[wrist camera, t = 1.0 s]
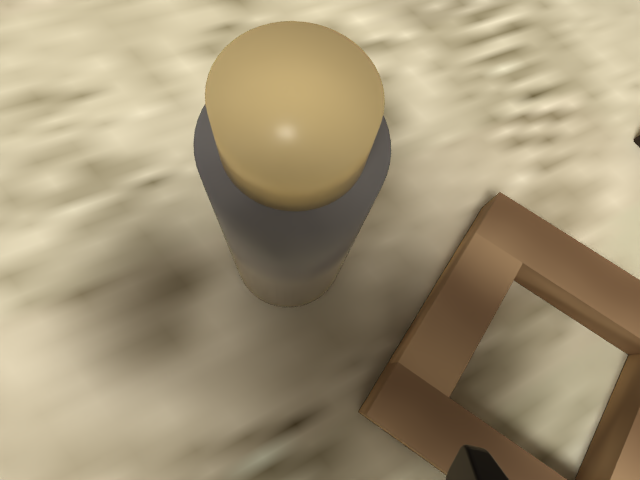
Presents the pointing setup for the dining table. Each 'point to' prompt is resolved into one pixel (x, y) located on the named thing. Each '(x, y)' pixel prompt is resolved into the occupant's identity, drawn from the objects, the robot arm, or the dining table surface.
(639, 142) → the hardcover book
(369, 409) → the brown square frame
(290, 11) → the dining table surface
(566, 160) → the dining table surface
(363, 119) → the grey and tan cylinder
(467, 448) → the robot arm
